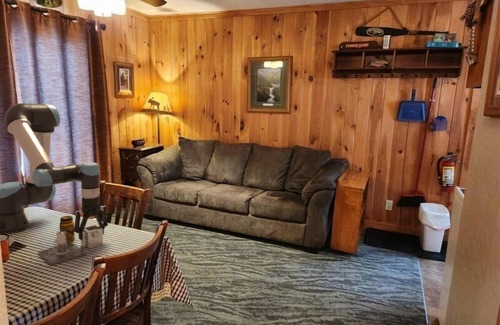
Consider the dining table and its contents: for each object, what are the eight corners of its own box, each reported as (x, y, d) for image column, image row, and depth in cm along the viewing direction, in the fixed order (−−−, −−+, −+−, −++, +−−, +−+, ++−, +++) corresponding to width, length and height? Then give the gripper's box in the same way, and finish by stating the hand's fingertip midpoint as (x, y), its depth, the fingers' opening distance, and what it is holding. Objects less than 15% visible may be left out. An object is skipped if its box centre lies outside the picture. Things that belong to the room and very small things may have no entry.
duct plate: (38, 253, 144) (36, 232, 142) (72, 244, 154) (71, 224, 153) (50, 265, 134) (49, 242, 133) (86, 255, 145) (85, 233, 143)
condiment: (76, 242, 157) (75, 218, 155) (55, 246, 153) (54, 221, 151) (74, 237, 163) (73, 213, 161) (54, 240, 158) (53, 216, 156)
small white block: (82, 244, 156) (81, 227, 154) (96, 240, 161) (96, 224, 159) (90, 249, 151) (89, 232, 149) (104, 245, 155) (104, 229, 154)
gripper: (70, 202, 142) (72, 252, 146) (115, 194, 157) (116, 240, 161) (63, 198, 147) (65, 246, 151) (108, 191, 162) (109, 235, 166)
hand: (91, 243), depth 156 cm, fingers open, 7 cm apart
